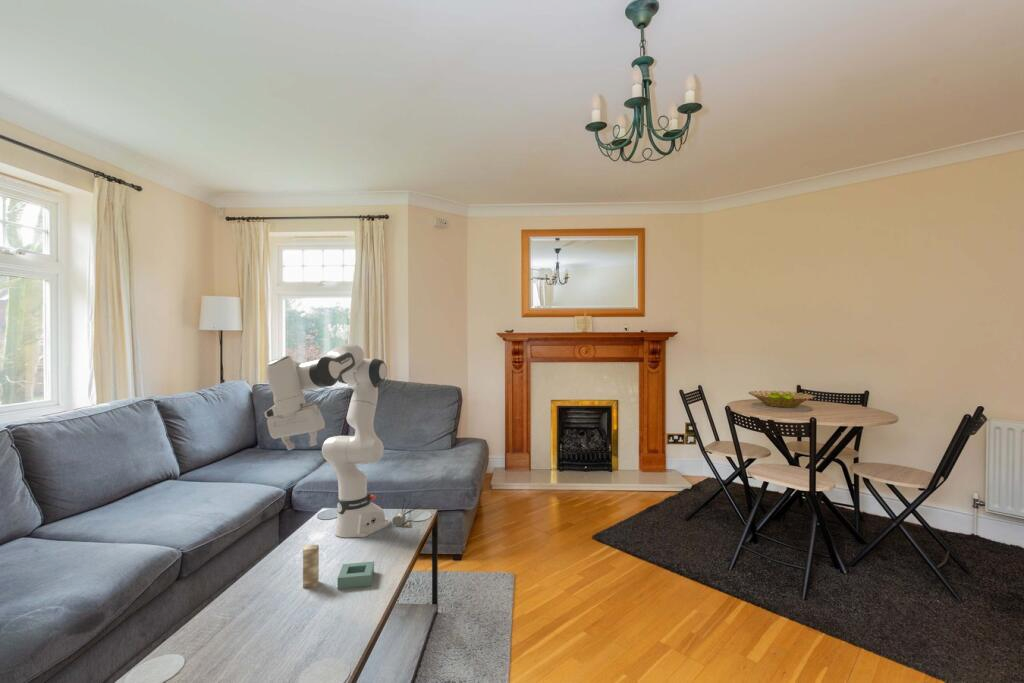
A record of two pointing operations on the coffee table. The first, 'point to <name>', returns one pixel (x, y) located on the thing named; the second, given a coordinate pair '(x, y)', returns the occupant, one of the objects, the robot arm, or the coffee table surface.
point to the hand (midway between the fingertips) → (302, 447)
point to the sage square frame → (356, 575)
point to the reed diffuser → (401, 517)
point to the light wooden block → (310, 565)
